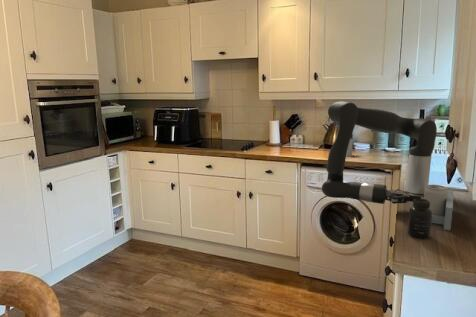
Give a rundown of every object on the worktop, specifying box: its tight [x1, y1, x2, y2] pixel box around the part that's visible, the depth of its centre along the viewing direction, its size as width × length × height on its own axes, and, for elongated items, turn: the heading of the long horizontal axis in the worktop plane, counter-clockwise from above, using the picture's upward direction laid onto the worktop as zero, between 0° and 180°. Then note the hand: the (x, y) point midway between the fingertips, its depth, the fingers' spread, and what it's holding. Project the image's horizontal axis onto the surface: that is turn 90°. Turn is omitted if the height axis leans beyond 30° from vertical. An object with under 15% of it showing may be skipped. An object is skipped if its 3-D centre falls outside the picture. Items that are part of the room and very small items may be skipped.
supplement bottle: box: [407, 198, 433, 240], centre depth 121 cm, size 7×7×12 cm
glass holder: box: [346, 133, 354, 158], centre depth 256 cm, size 9×14×15 cm, turn 24°
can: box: [423, 184, 447, 217], centre depth 137 cm, size 8×8×12 cm
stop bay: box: [432, 189, 454, 231], centre depth 137 cm, size 24×10×8 cm, turn 150°
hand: (420, 199), depth 140 cm, fingers closed
